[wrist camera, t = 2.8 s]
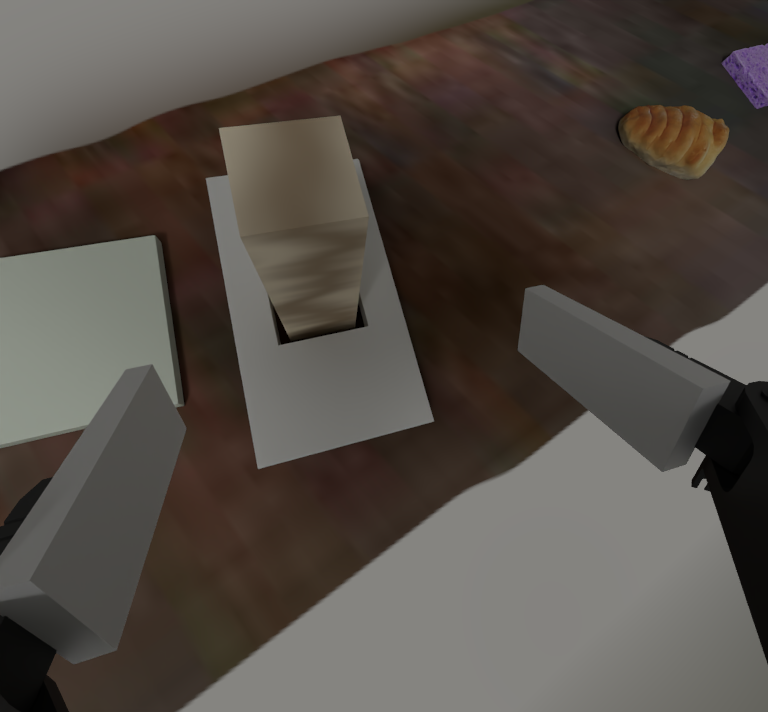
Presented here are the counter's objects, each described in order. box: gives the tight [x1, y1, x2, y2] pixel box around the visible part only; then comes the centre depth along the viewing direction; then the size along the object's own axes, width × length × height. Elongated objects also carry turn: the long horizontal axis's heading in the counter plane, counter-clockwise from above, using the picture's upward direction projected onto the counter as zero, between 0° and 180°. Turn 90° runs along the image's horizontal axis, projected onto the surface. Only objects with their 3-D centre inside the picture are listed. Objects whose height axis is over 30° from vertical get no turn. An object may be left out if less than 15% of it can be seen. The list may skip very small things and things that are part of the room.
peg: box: [219, 116, 369, 341], centre depth 21 cm, size 5×5×14 cm
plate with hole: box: [206, 159, 434, 469], centre depth 27 cm, size 12×22×2 cm, turn 15°
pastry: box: [618, 105, 729, 180], centre depth 35 cm, size 9×7×4 cm
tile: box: [0, 235, 185, 448], centre depth 24 cm, size 13×13×1 cm
